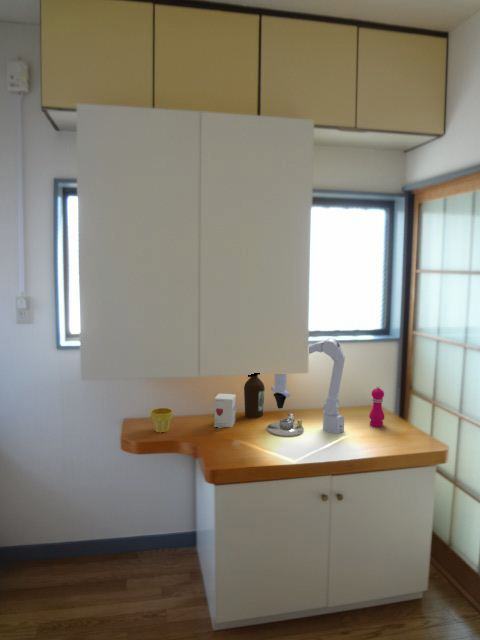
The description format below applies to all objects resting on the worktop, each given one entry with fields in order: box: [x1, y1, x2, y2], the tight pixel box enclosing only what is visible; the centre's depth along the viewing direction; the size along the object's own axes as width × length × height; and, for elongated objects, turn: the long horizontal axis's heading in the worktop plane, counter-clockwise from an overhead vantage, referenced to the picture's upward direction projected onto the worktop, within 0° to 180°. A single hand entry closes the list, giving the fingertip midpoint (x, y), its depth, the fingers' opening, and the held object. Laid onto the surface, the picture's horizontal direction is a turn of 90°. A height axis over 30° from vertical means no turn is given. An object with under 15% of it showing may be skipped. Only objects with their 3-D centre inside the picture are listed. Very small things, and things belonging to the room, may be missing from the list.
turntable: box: [267, 418, 305, 438], centre depth 219 cm, size 17×17×4 cm
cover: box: [279, 418, 294, 430], centre depth 219 cm, size 6×6×4 cm
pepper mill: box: [368, 385, 385, 428], centre depth 229 cm, size 7×7×20 cm
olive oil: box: [243, 374, 266, 419], centre depth 239 cm, size 11×11×25 cm
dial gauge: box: [286, 413, 295, 422], centre depth 230 cm, size 4×6×5 cm, turn 136°
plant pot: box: [150, 407, 174, 433], centre depth 219 cm, size 10×10×10 cm
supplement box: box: [213, 393, 237, 429], centre depth 226 cm, size 9×9×15 cm
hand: (280, 407), depth 227 cm, fingers closed
